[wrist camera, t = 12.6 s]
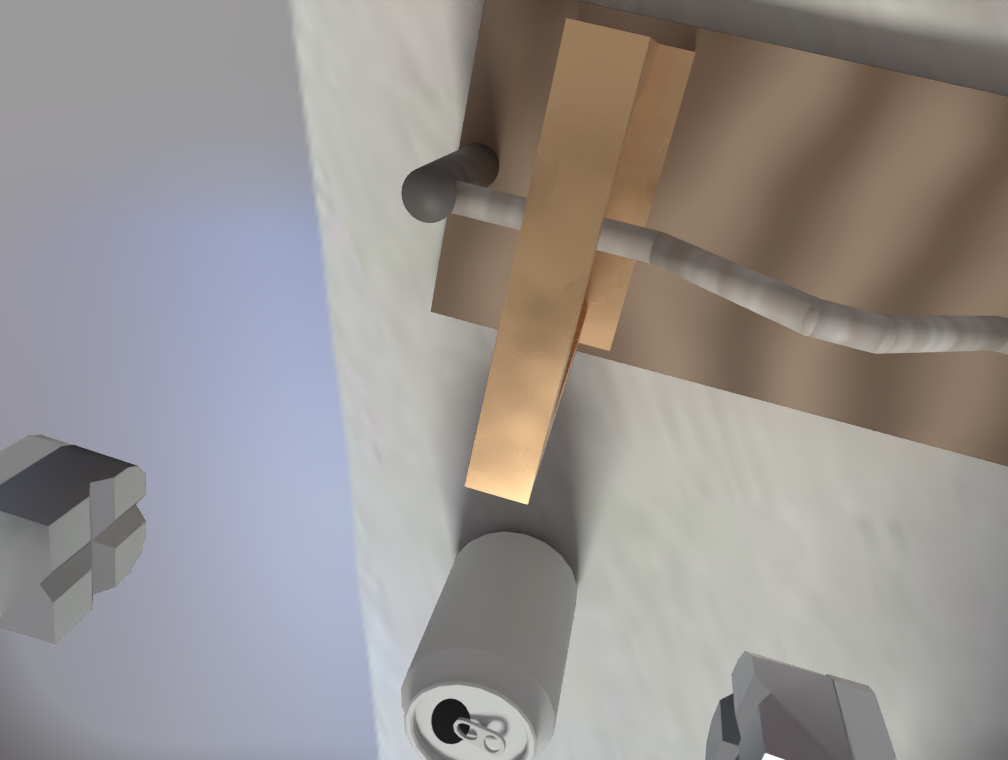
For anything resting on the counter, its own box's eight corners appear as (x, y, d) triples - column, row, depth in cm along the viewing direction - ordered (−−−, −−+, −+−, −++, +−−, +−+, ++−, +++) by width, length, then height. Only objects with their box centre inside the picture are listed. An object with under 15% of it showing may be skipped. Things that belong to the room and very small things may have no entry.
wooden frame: (694, 52, 32) (714, 51, 18) (611, 342, 37) (575, 518, 23) (577, 25, 32) (504, 4, 18) (512, 315, 38) (417, 472, 24)
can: (465, 508, 44) (399, 655, 34) (591, 542, 44) (566, 703, 33) (446, 607, 48) (380, 771, 37) (564, 641, 47) (532, 818, 36)
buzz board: (1244, 150, 30) (1616, 213, 18) (1054, 467, 37) (1240, 667, 25) (495, -17, 33) (398, -56, 21) (438, 302, 40) (338, 410, 28)
